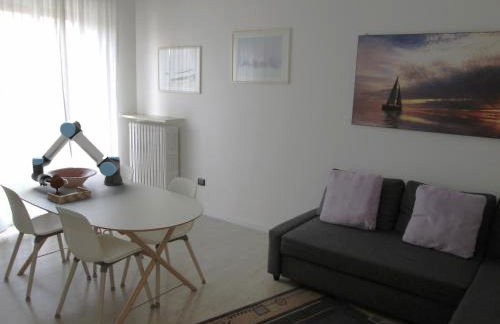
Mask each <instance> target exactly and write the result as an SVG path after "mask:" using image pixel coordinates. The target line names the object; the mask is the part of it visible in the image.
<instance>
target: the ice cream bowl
mask: <svg viewBox="0 0 500 324" xmlns="http://www.w3.org/2000/svg"><path fill="white" fill-rule="evenodd" d="M51 178H52V179H51V180H50V182H48V183H50V188H52V189H54V190H55V192H53V194H54V195H57V196H60V195H62V192H60V190H59V189H61V188H62V187H63V186H64V185H65V183H64V182H65V181H63V178H64V177H62V176H61V175H60V174H57V173H56V174H53V175H52V176H51Z"/></svg>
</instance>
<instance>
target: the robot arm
mask: <svg viewBox="0 0 500 324" xmlns="http://www.w3.org/2000/svg"><path fill="white" fill-rule="evenodd" d="M81 125H82V124H81V123H80V122H79V121H77V120H75V119H70V120H65V121H64V122H63V123H61V125H60V127H59V131H60V136H59V137H58V138H57V139H55V141H54V143H52V145H51V146H50V147H49V148H48V149H47V151H45V153H43V154H42V156H37V157H32V159H31V160H32V161H31V163H32V173H31V174H30V175H31V176H30V177H31V179H32V181H35V182H37V183H39V185H40V187H44V188H45V187H47V188H51V186H50V183H48V182H50V180H51V179H52V176H51V175H49V174H47V173H46V174H45V172H44V168H45V167H47V166H49V165H50V164H51V163H52V161H53V160H54V158H56V156H57V155H58V154H59V153H60V152H61V151H62V149H63V148H65V146H66V145H67V144H68V143H69V141H73V142H75V143H76V145H78V146H79V148H81V149H82V150H83V151H84V152H85V153H86V154H87V155H88V157H90V158H91V159H92V160H93V162H95V165H96V167H97V168H98V169H99V172H100V174H101V175H102V176H104V180H103V185H105V186H110V187H111V186H112V187H113V186H119V185H122V184H123V183H124V180H123V178H122V174H121V159H120V157H119V156H108V155H104V154H103V153H102V152H101V151H100V149H98V148H97V146H95V144H94V143H92V141H91V140H90V139H89V138H87V136H86V135H85V134H84V133H83V132H84V131H83V130H82V126H81ZM62 178H63V181H65V182H64V184H66V185H68V184H69V181H68V180H67V178H66V177H62Z"/></svg>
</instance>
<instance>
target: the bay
mask: <svg viewBox="0 0 500 324" xmlns="http://www.w3.org/2000/svg"><path fill="white" fill-rule="evenodd" d="M76 187H77V188H76V192H72V193H68V194H60V195H54V193H51V192H46V197H47V198H46V199H47V201H51V202H54V203H57V204H58V205H63V204H66V203H71V202H75V201H80V200H84V199H88V198H92V191H91V190H90V189H86V188H84V187H81V186H76Z"/></svg>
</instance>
